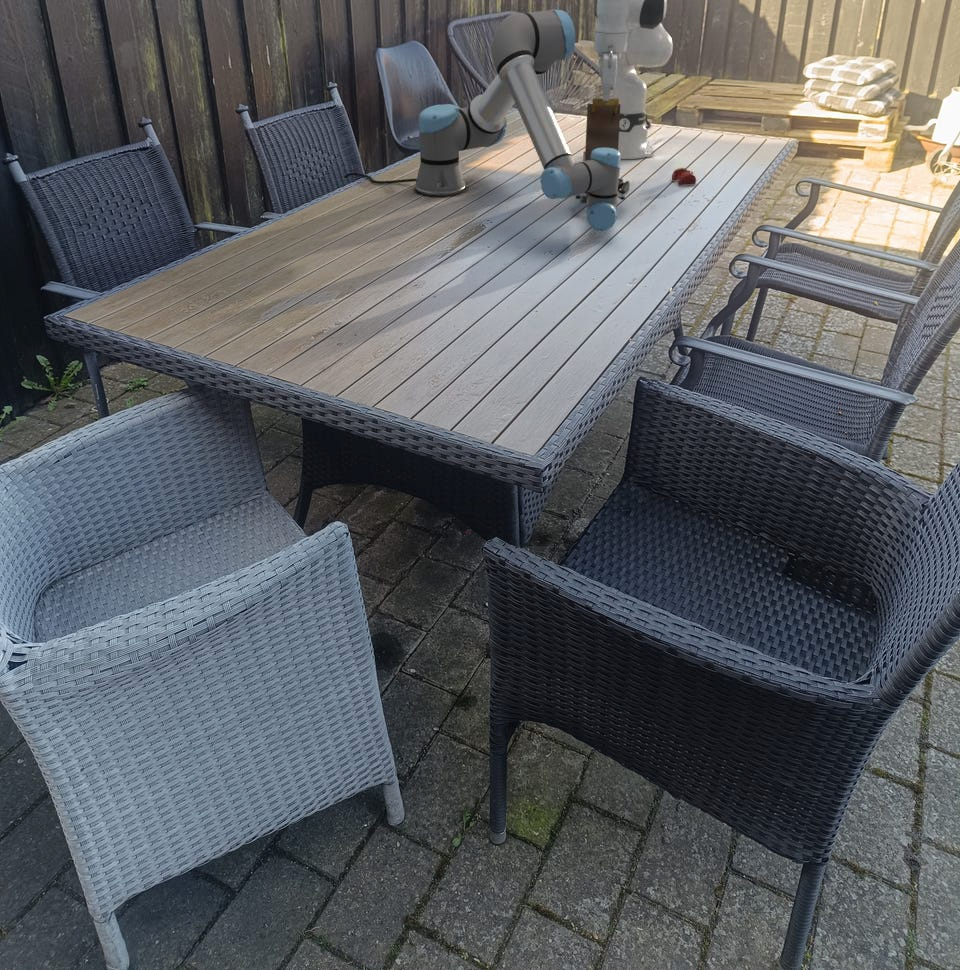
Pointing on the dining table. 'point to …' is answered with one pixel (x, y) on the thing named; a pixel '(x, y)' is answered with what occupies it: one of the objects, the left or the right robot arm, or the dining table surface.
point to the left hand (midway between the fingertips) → (599, 177)
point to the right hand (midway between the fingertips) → (605, 99)
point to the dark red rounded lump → (684, 176)
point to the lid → (602, 125)
